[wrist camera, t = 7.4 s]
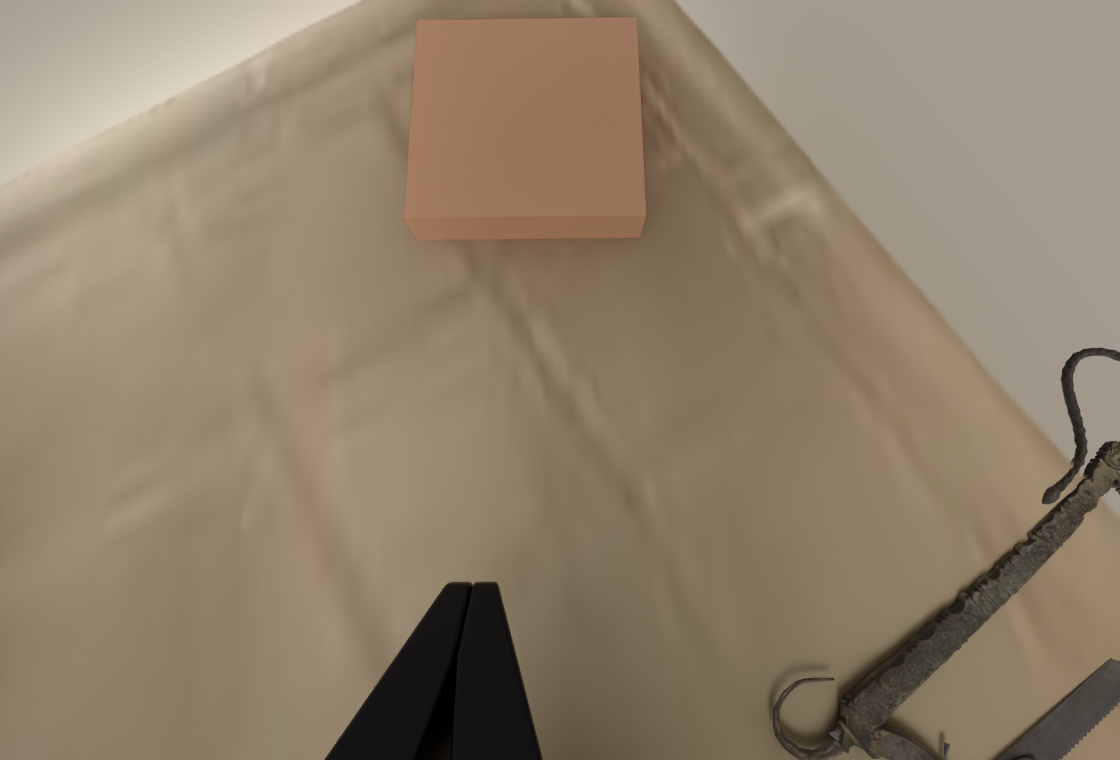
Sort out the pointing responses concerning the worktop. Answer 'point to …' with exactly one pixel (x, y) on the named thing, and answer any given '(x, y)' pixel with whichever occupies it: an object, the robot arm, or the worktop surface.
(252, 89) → the worktop surface
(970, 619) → the hacksaw
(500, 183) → the tile
